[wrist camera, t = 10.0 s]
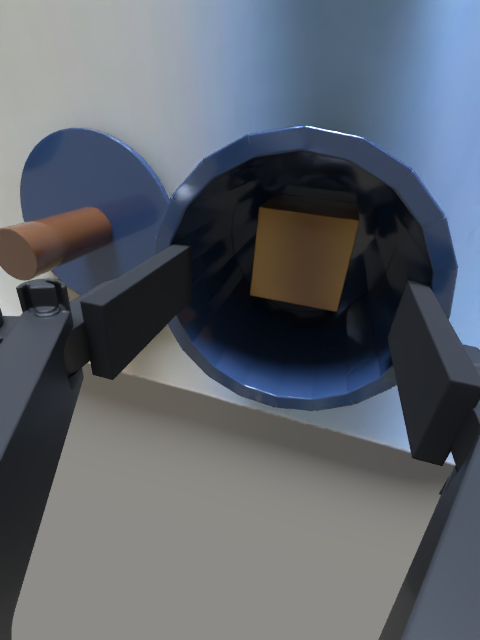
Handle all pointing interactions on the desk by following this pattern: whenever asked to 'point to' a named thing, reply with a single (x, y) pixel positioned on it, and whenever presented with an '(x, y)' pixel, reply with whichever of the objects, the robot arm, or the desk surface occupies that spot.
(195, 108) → the desk surface
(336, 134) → the blue paneled pot
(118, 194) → the lid
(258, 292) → the block
